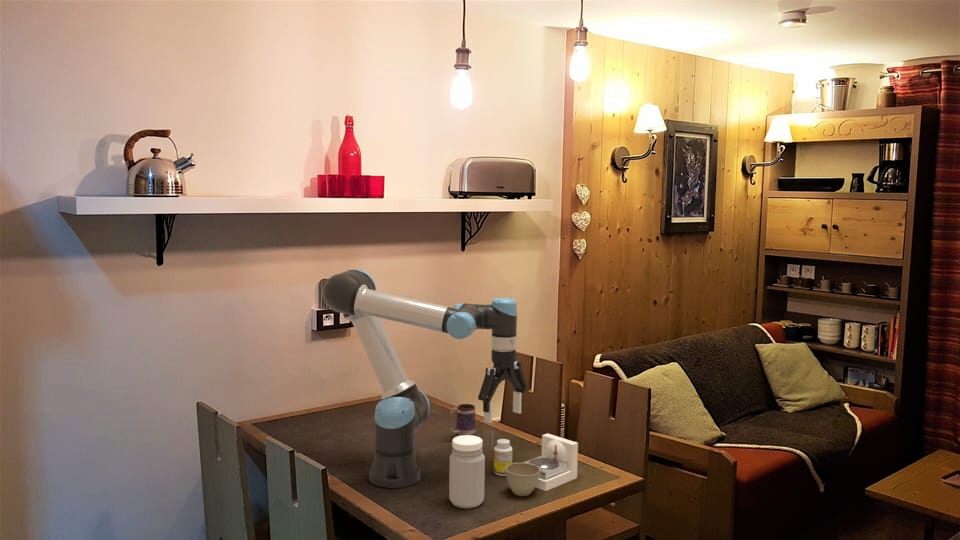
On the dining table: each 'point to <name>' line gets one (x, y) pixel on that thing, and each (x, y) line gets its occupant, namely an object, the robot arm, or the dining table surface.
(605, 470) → the dining table surface
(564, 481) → the scale base
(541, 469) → the pan
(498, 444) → the supplement bottle
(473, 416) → the mug
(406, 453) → the robot arm
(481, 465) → the jar
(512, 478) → the flower pot
